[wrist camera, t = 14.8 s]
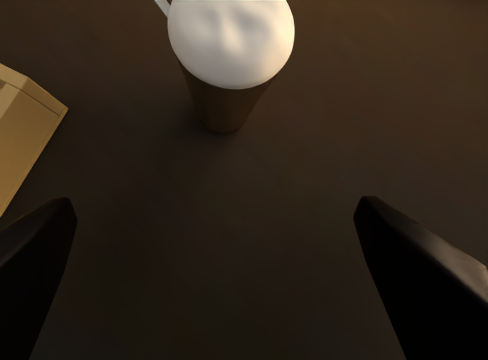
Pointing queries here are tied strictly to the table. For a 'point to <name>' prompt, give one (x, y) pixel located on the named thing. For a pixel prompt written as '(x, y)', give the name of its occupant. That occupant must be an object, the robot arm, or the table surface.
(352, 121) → the table surface
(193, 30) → the milkshake
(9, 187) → the tray
